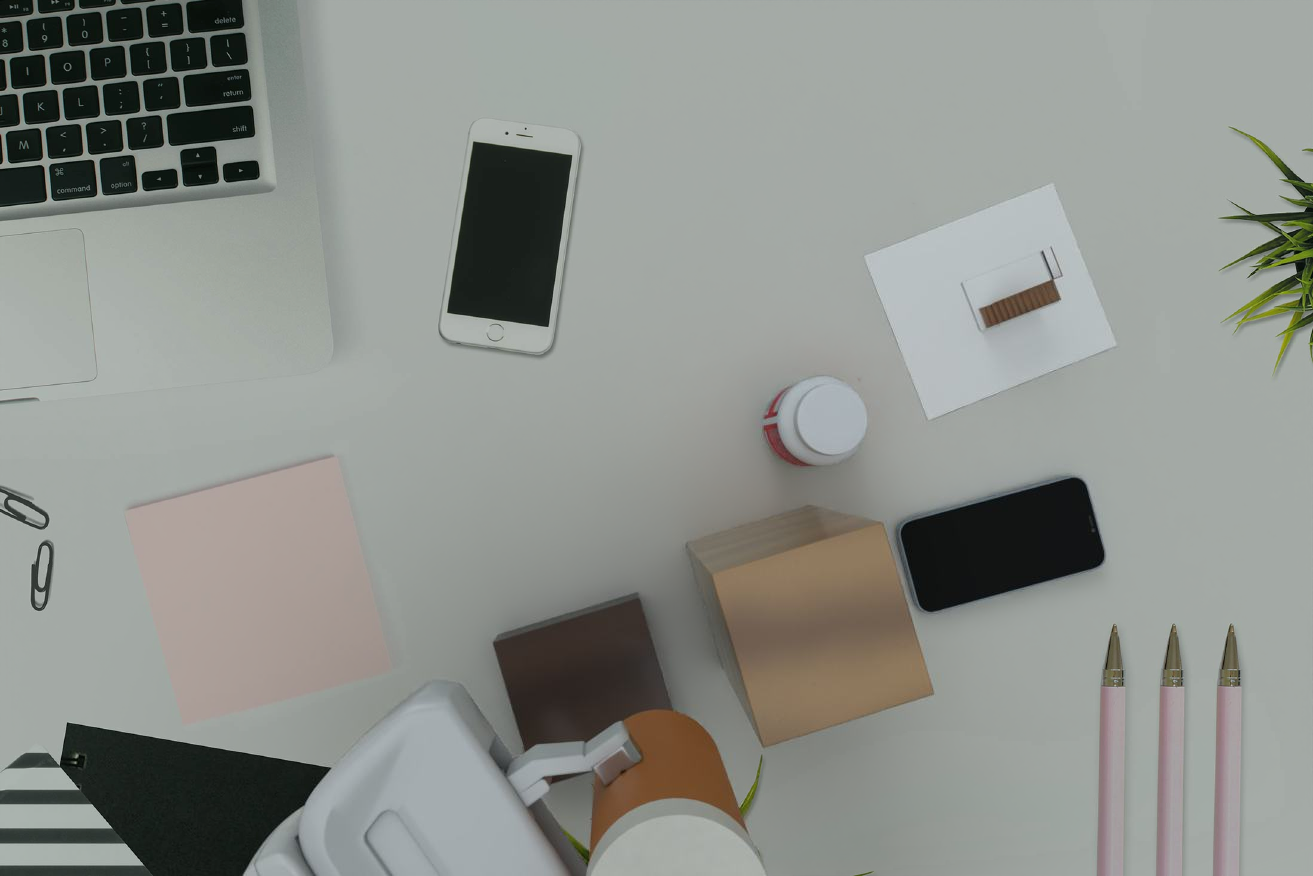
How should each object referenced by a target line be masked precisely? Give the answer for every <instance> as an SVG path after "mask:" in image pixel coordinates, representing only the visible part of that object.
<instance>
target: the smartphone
mask: <svg viewBox="0 0 1313 876" xmlns="http://www.w3.org/2000/svg"><path fill="white" fill-rule="evenodd" d="M895 533H896V534H895V535H896V539H897V543H898V544H897V545H898V547H899V551H900V554H901V559H902V562H903V567H904V570H905V573H906V577H907V580H908V585H909V589H910V592H911V596H912V599H913V602H914V605H915V606H916V607H917V609H919V610H920V611H922V612H924V613H926V614H937V613H941V612H944V611H948V610H951V609H955V608H956V609H957V608H959V607H963V606H967V605H970V604H973V603H977V602H982V601H985V600H989V599H992V598H996V597H1000V596H1004V595H1007V594H1011V593H1015V592H1018V591H1022V590H1025V589H1029V588H1032V587H1036V586H1040V585H1043V584H1047V583H1051V582H1054V581H1059V580H1063V579H1065V578H1070V577H1073V576H1076V575H1077V576H1078V575H1081V574H1085V573H1088V572H1092V571H1095V570H1098V569H1100V568H1101V567H1102V566H1103V565H1104V564H1105V562H1106V559H1107V550H1106V546H1105V543H1104V540H1103V536H1102V533H1101V527H1100V525H1099V522H1098V517H1097V513H1096V511H1095V507H1094V503H1093V499H1092V496H1091V491H1090V489H1089V486H1088V483H1087V482H1086V480H1085V479H1084V478H1082V477H1081V476H1078V475H1065V476H1062V477H1058V478H1054V479H1050V480H1046V481H1042V482H1038V483H1035V484H1032V485H1031V484H1030V485H1028V486H1024V487H1020V488H1016V489H1013V490H1008V491H1006V492H1001V493H998V494H994V495H991V496H990V495H989V496H987V497H982V498H979V499H975V500H972V501H969V502H965V503H960V504H957V505H954V506H950V507H945V508H942V509H938V510H934V511H931V512H926V513H923V514H919V515H916V516H912V517H908V518H906V519H903V520H902V521H901V522H899V524H898V526H897V527H896V532H895Z"/></svg>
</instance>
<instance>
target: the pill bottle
mask: <svg viewBox="0 0 1313 876" xmlns="http://www.w3.org/2000/svg"><path fill="white" fill-rule="evenodd" d="M761 419H762V421H761V432H762V437H763V439H764V442H765V444H766V447H767V448H768V450H769V451H770V452H771V454H773V455H774V456H775V457H776V458H777V459H779V460H780V461H782V462H784V463H785V464H788V465H790V466H791V465H792V466H796V467H830V466H834V465H836V464H840V463H842V462H844V461H845V460H848V459H849V458H850V457H852V456H853V455H854V454H855V453H856V452H857V450H858V449H859V448H860V447H861V445H862V443H863V441H864V438H865V436H866V432H867V429H868V424H869V418H868V411H867V407H866V405H865V403H864V401H863V400H862V398H861V397H860V395H859V394H858V392H857V391H856V390H855V389H854V388H853V387H851V385H850V384H848V383H847V382H846V381H843V380H840V379H838V378H836V377H832V376H825V375H821V376H812V377H809V378H805V379H803V380H801V381H799V382H797V383H795V384H792V385H790V386H788V387H786V388H784V389H782V390H781V391H779V392H778V393H777V394H775V395H774V396H773V397H772V398H771V399H770V400H769V402H768V403H767V405H766V407H765V409H764V412H763V414H762V418H761Z"/></svg>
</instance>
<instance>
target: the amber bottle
mask: <svg viewBox="0 0 1313 876" xmlns="http://www.w3.org/2000/svg"><path fill="white" fill-rule="evenodd" d="M622 722H623V723H624V725H625V726H626V727H627V729H628V731H629V732H630V733H631V735H632V736H633V738H634V739H635V741H636V742H637V744H638V745H639V747H640V748H641V750H642V753H641V754H642V759H641V761H640V762H639V763H638V764H637V765H636V766H634V767H633V768H631V769H629V770H627V771H622V772H621V775H620V776H619V777H618V778H617V779H616V780H615V781H613V782H612V783H610V784H609V785H608V786H606V787H605V785H604V784H603V782H602V781H601V780H600V778H599V777H598V775H597V774H596V773H595V771H593V772H594V773H593V774H594V775H593V788H592V789H593V791H592V804H591V805H592V807H591V823H590V841H589V853H588V855H589V857H588V864H587V866H588V868H587V872H586V876H768V875H767V872H766V870H765V867H764V863H763V861H762V858H761V856H760V853H759V851H758V849H757V847H756V845H755V843H754V841H753V839H752V838H751V836H750V834H749V831H748V827H747V825H746V822H745V820H744V817H743V815H742V812H741V809H740V806H739V803H738V800H737V798H736V795H735V792H734V789H733V786H732V784H731V781H730V777H729V775H728V773H727V769H726V767H725V764H724V762H723V761H724V760H723V759H722V755H721V753H720V750H719V747H718V746H717V744H716V741H715V740H714V738H713V737H712V735H711V734H710V732H708V730H707V729H706V728H705V727H704V726H703V725H701V724H700V723H699V722H698V721H697V720H695V719H694V718H693V717H690V716H688V715H686V714H684V713H682V712H678V711H675V710H673V711H670V710H658V709H657V710H648V711H644V712H640V713H638V714H635V715H632V716H631V717H629V718H627V719H625V720H624V721H622Z"/></svg>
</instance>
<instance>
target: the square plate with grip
mask: <svg viewBox="0 0 1313 876" xmlns="http://www.w3.org/2000/svg"><path fill="white" fill-rule="evenodd" d="M863 259H864V261H865V264H866V266H867V269H868V271H869V274H870V277H871V279H872V282H873V284H874V287H875V289H876V292H877V294H878V296H879V299H880V302H881V305H882V307H883V310H884V312H885V314H886V318H887V319H888V322H889V324H890V327H891V330H892V332H893V335H894V337H895V340H896V343H897V345H898V347H899V350H900V353H901V356H902V357H903V360H904V363H905V365H906V369H907V370H908V373H909V375H910V378H911V381H912V383H913V385H914V388H915V391H916V393H917V396H918V399H919V400H920V403H921V406H922V408H923V410H924V413H925V415H926V419H927V421H931V420H934V419H936V418H938V417H940V416H943V415H946V414H948V413H950V412H952V411H956V410H958V409H960V408H963V407H966V406H968V405H971V404H973V403H976V402H978V401H980V400H984V399H986V398H988V397H992V396H993V395H996V394H998V393H1002V392H1004V391H1007V390H1008V389H1012V388H1013V387H1016V386H1019V385H1021V384H1024V383H1026V382H1029V381H1031V380H1035V379H1036V378H1039V377H1042V376H1043V375H1047V374H1048V373H1052V372H1054V371H1056V370H1059V369H1061V368H1064V367H1066V366H1069V365H1071V364H1075V363H1077V362H1079V361H1082V360H1084V359H1087V358H1090V357H1092V356H1094V355H1097V354H1099V353H1102V352H1104V351H1107V350H1109V349H1112V348H1114V347H1117V346H1118V343H1117V341H1116V338H1115V335H1114V333H1113V330H1112V328H1111V325H1110V323H1109V321H1108V318H1107V316H1106V313H1105V310H1104V308H1103V306H1102V303H1101V300H1100V298H1099V295H1098V292H1097V290H1096V288H1095V285H1094V282H1093V280H1092V278H1091V277H1092V276H1091V275H1090V272H1089V270H1088V267H1087V265H1086V262H1085V260H1084V257H1083V255H1082V252H1081V249H1080V247H1079V245H1078V242H1077V239H1076V237H1075V234H1074V232H1073V229H1072V226H1071V225H1070V221H1069V220H1068V217H1067V214H1066V212H1065V209H1064V206H1063V204H1062V202H1061V199H1060V196H1059V194H1058V192H1057V190H1056V187H1055V185H1054V182H1051V183H1049V184H1046V185H1044V186H1041V187H1039V188H1037V189H1034V190H1031V191H1028V192H1025V193H1023V194H1021V195H1018V196H1015V197H1013V198H1010V199H1008V200H1004V201H1002V202H999V203H998V204H995V205H992V206H990V207H987V208H984V209H982V210H979V211H976V212H974V213H971V214H969V215H967V216H964V217H962V218H958V219H956V220H954V221H953V220H952V221H951V222H948V223H945V224H943V225H940V226H938V227H936V228H933V229H930V230H928V231H925V232H923V233H920V234H917V235H915V236H912V237H910V238H907V239H905V240H901V241H899V242H896V243H894V244H891V245H889V246H887V247H884V248H881V249H878V250H875V251H874V252H870V253H869V254H866V255H863Z"/></svg>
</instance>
